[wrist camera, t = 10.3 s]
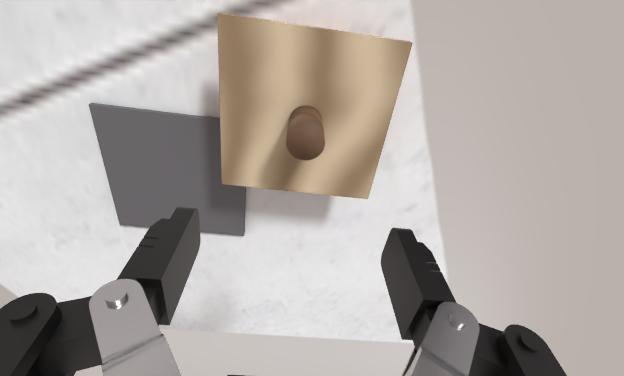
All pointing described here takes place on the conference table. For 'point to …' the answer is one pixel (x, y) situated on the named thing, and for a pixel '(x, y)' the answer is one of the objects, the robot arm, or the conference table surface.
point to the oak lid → (304, 105)
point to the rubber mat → (166, 168)
